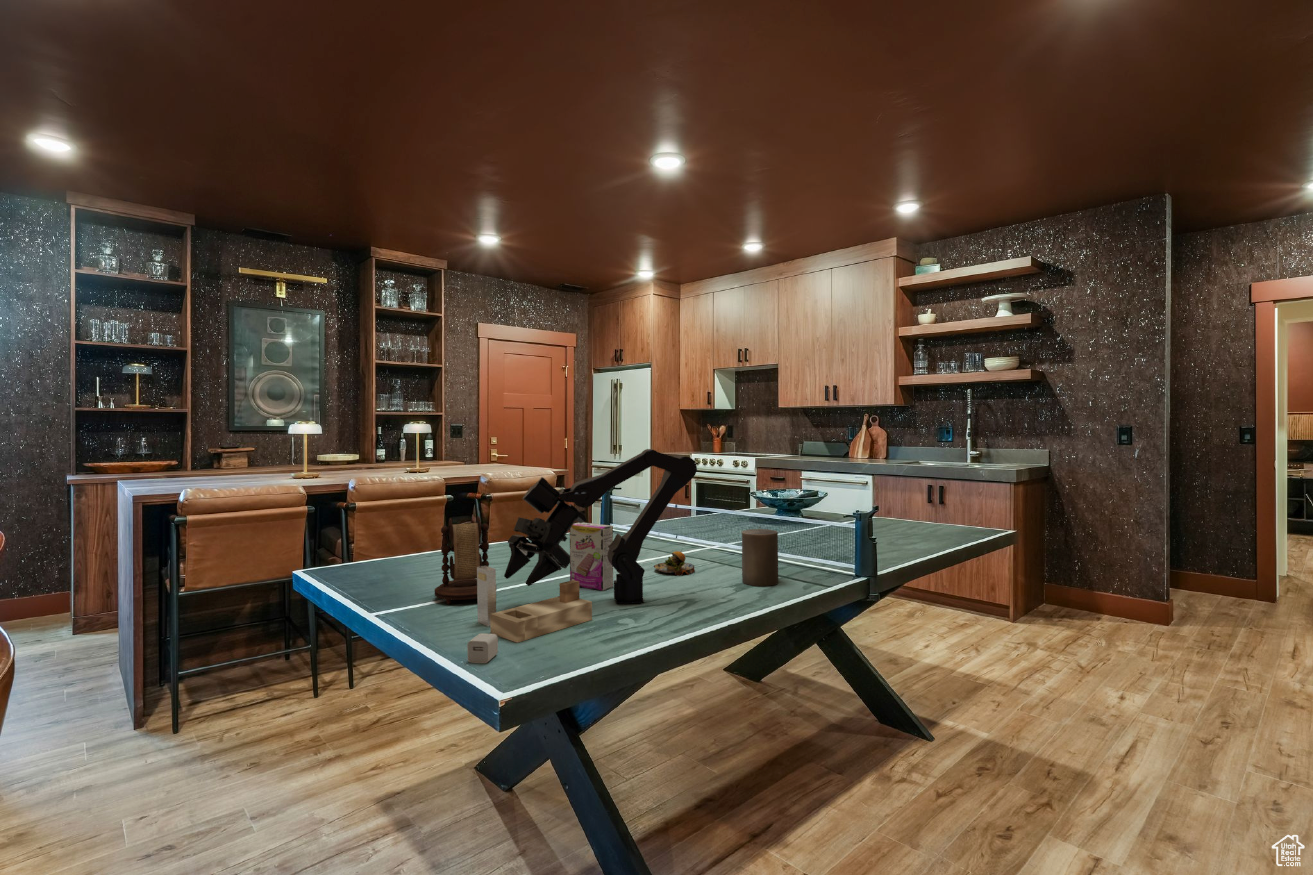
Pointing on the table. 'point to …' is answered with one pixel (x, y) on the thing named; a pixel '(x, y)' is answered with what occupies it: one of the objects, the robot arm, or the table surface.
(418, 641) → the table surface
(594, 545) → the candy bar box
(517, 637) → the hand plane
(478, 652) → the usb wall charger
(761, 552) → the pillar candle
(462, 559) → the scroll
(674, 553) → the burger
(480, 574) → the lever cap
